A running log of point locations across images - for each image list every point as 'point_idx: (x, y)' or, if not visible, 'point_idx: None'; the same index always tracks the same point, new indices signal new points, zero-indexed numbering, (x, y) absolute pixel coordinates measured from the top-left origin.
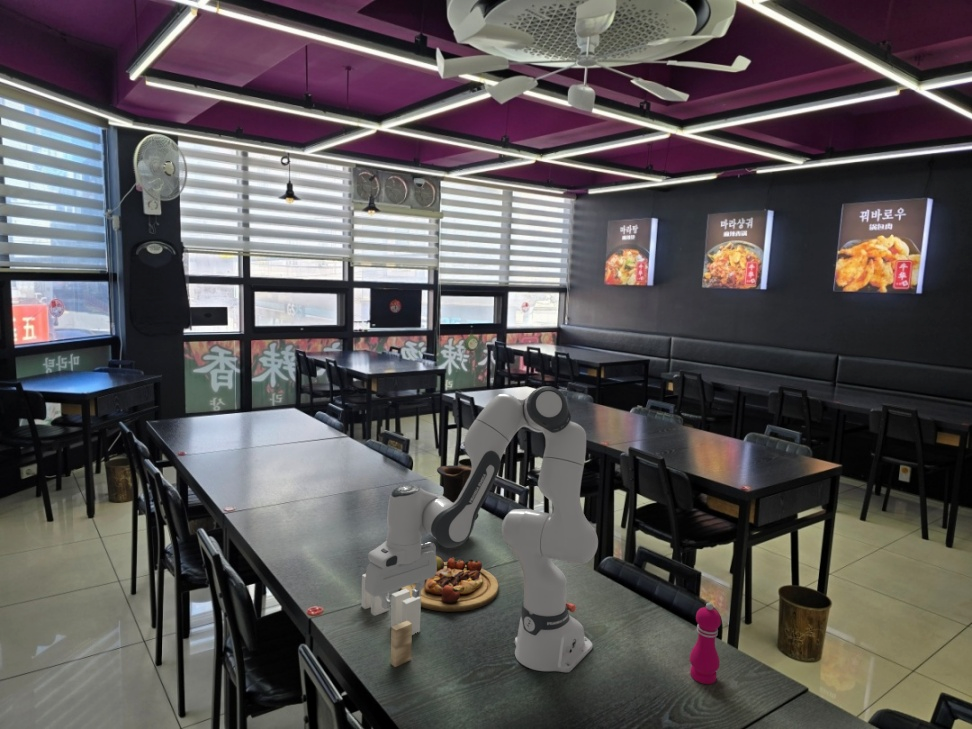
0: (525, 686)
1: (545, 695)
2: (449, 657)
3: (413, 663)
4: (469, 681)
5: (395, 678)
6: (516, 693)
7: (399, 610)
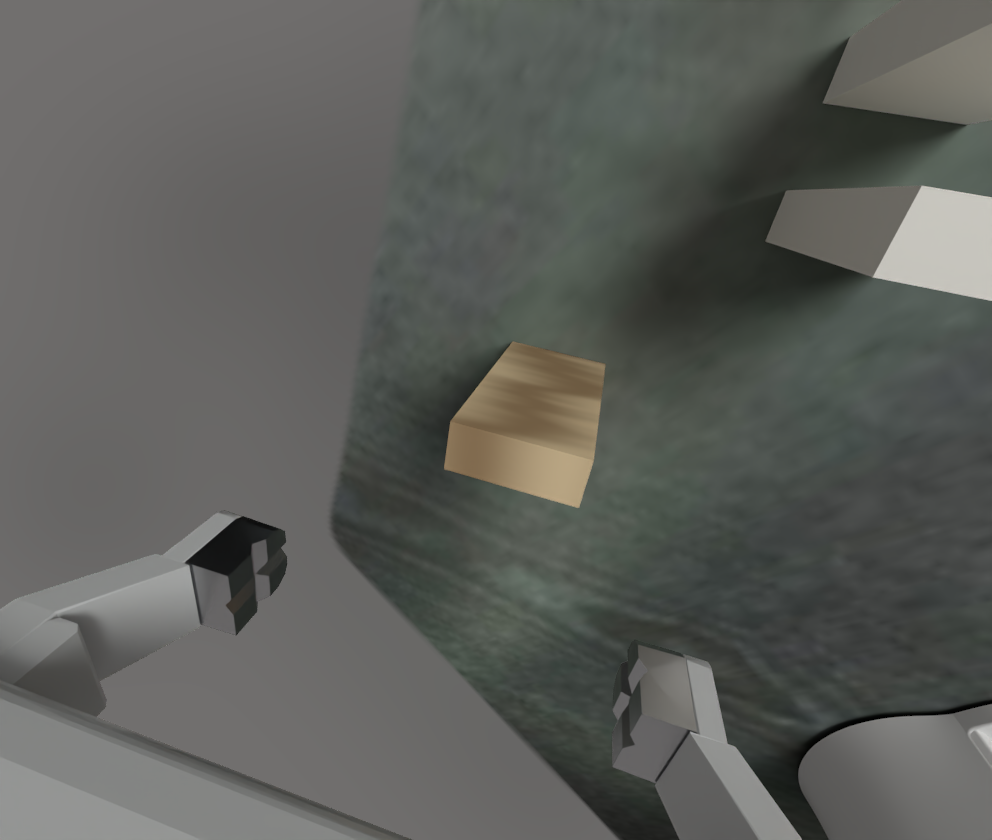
0: None
1: None
2: (713, 523)
3: None
4: (611, 632)
5: None
6: None
7: (950, 77)
